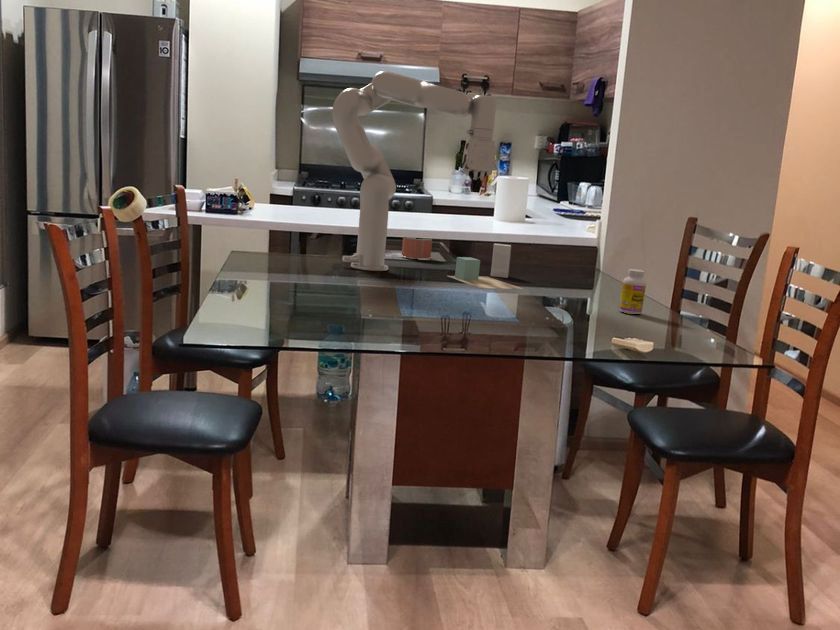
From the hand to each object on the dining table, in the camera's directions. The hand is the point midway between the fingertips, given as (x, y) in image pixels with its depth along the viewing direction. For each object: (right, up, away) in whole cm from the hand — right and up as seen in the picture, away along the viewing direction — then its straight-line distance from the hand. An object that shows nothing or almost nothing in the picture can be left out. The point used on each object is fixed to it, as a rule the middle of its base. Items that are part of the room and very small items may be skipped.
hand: (475, 192), depth 287 cm
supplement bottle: (+44, -40, -27) cm, 65 cm away
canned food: (-20, -18, +50) cm, 57 cm away
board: (+3, -31, -3) cm, 31 cm away
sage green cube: (-3, -28, +1) cm, 28 cm away
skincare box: (+9, -28, +15) cm, 33 cm away
